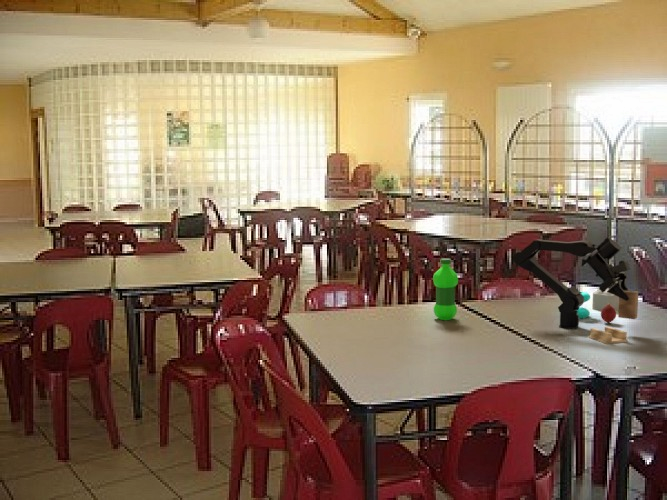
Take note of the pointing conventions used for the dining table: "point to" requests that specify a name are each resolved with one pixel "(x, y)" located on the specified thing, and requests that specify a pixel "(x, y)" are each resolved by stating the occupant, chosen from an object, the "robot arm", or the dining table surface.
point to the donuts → (582, 311)
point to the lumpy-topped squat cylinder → (604, 300)
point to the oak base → (608, 335)
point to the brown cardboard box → (628, 305)
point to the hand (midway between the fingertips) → (629, 299)
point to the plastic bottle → (445, 291)
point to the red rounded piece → (608, 313)
